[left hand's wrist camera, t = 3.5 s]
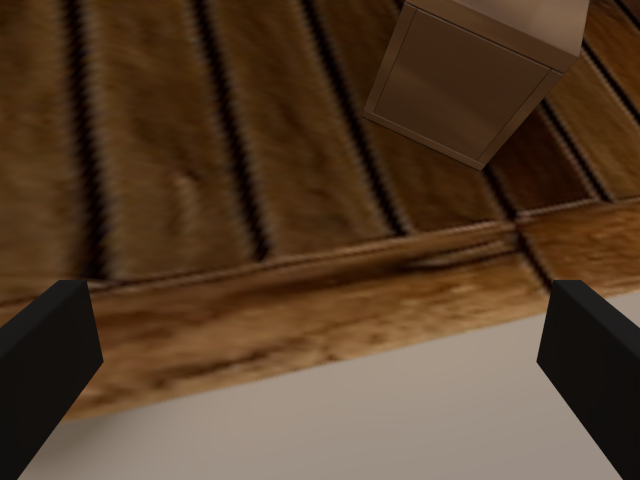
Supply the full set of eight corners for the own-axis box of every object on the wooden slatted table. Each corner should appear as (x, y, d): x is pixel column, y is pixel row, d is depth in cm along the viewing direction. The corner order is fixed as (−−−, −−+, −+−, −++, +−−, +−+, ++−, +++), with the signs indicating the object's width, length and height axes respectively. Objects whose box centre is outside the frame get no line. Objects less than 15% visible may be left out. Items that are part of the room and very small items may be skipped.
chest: (418, 6, 39) (466, -110, 31) (516, 50, 39) (590, -55, 31) (360, 116, 32) (404, 2, 24) (480, 171, 32) (563, 75, 24)
